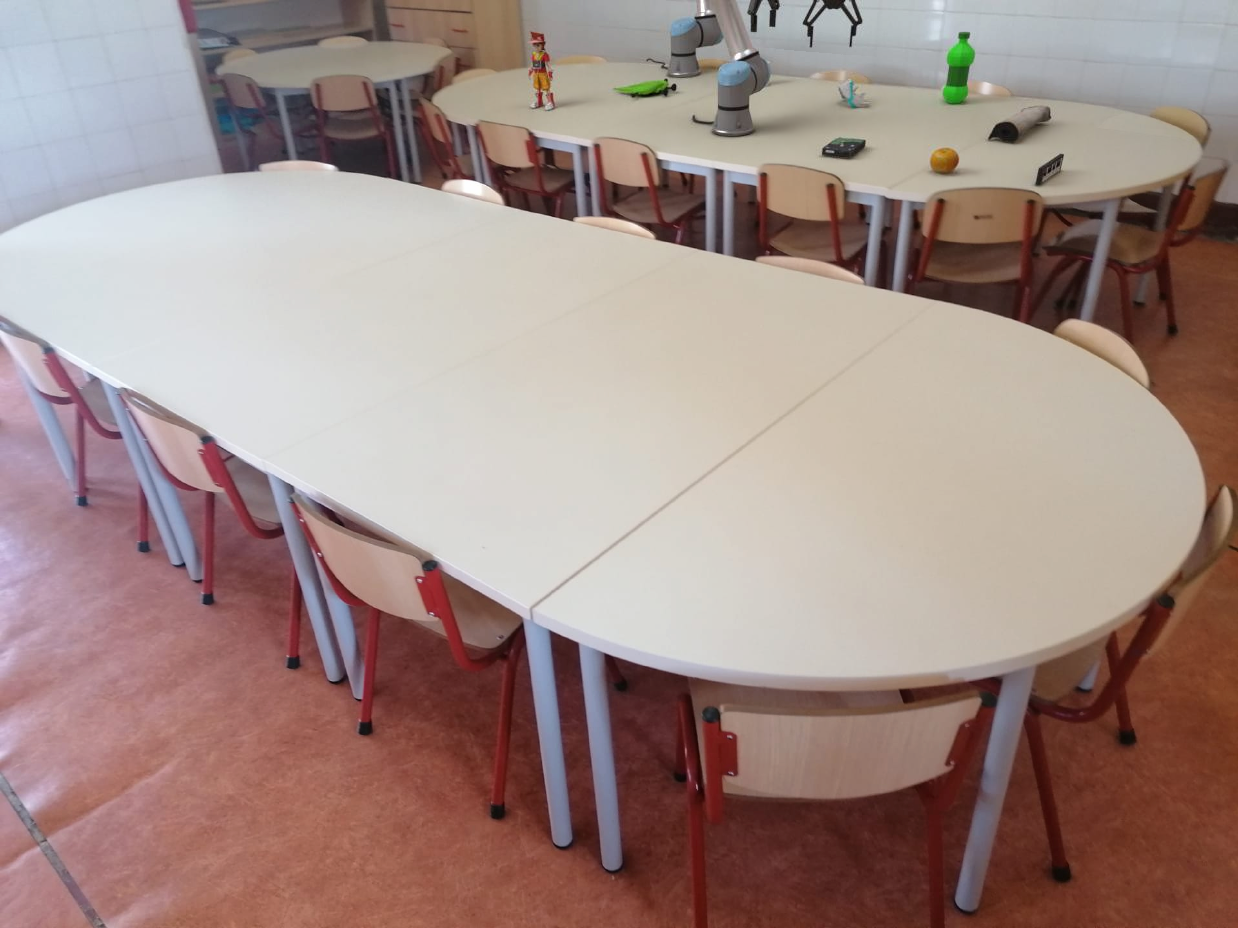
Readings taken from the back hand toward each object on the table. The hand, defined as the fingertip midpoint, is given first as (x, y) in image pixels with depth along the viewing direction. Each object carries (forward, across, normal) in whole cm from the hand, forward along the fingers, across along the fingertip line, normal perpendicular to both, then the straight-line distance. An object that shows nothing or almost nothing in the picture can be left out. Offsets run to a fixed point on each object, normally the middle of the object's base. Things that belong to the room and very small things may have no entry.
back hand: (763, 29), depth 384 cm
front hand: (-6, -49, -64) cm, 81 cm away
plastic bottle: (+22, +12, -84) cm, 88 cm away
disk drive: (+22, -69, -84) cm, 111 cm away
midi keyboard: (+22, -60, -150) cm, 163 cm away
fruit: (+22, -71, -121) cm, 143 cm away
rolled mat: (+22, -16, -122) cm, 126 cm away
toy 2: (+22, -38, +38) cm, 58 cm away
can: (+22, 0, 0) cm, 22 cm away
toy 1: (+22, -80, +56) cm, 101 cm away
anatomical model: (+22, -10, -52) cm, 57 cm away
